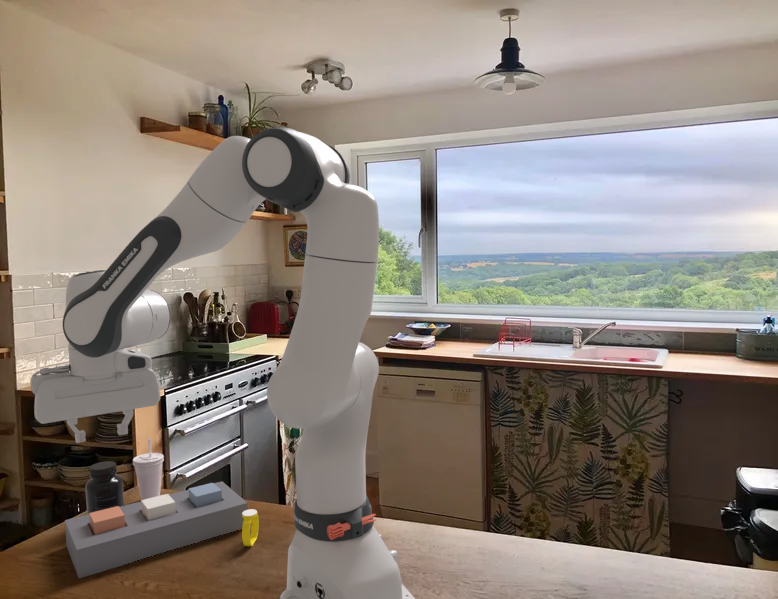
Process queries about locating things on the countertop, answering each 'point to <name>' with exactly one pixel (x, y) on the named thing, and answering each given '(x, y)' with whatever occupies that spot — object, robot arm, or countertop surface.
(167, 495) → the white key
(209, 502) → the slate blue key
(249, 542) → the watch
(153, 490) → the smoothie
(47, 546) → the countertop surface
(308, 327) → the robot arm
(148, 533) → the key panel
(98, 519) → the terracotta key
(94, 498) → the supplement bottle
